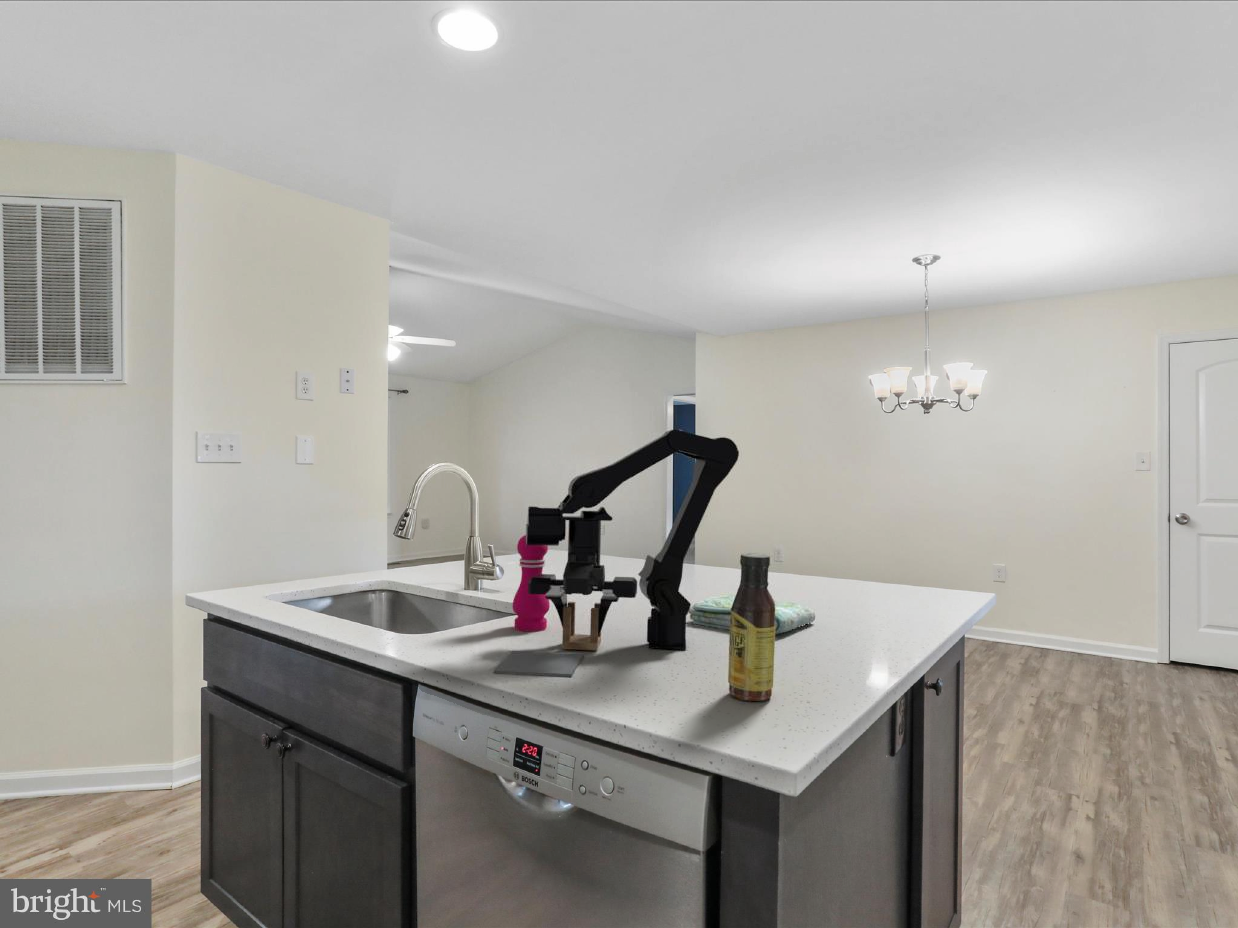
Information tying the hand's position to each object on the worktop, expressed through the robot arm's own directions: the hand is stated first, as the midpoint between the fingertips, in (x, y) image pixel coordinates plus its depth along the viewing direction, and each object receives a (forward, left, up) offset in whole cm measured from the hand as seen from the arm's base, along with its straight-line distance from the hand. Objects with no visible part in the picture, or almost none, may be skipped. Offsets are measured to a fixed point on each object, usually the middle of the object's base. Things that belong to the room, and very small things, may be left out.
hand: (582, 634), depth 122 cm
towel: (-32, -26, -3) cm, 41 cm away
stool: (0, 0, -2) cm, 2 cm away
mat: (+5, +12, -2) cm, 13 cm away
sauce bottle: (-27, +23, -2) cm, 36 cm away
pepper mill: (+12, -13, -2) cm, 18 cm away
